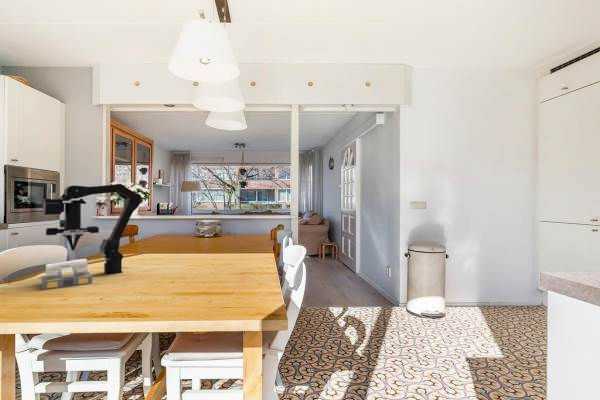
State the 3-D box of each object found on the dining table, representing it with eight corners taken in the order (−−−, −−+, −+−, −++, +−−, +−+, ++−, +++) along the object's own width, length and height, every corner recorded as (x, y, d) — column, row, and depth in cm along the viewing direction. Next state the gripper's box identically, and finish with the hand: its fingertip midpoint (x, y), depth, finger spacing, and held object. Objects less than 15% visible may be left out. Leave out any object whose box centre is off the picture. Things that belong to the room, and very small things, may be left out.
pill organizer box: (87, 278, 146) (87, 270, 146) (92, 283, 136) (92, 275, 136) (41, 283, 135) (41, 275, 135) (42, 290, 126) (42, 281, 126)
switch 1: (56, 273, 137) (56, 269, 137) (57, 274, 130) (57, 271, 130) (45, 274, 135) (45, 270, 135) (46, 275, 128) (46, 272, 128)
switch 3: (85, 270, 144) (85, 266, 144) (88, 270, 137) (88, 267, 137) (75, 271, 141) (74, 268, 141) (77, 272, 134) (77, 268, 134)
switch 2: (70, 267, 140) (71, 264, 140) (73, 276, 134) (73, 273, 133) (60, 268, 138) (60, 265, 138) (62, 277, 131) (62, 274, 131)
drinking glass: (45, 279, 145) (86, 274, 151) (44, 263, 145) (85, 259, 151) (48, 277, 151) (87, 272, 157) (48, 261, 151) (87, 257, 157)
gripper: (95, 213, 158) (94, 246, 158) (45, 214, 146) (45, 250, 146) (99, 214, 149) (98, 249, 149) (46, 215, 137) (46, 253, 137)
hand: (72, 250), depth 145 cm, fingers closed
